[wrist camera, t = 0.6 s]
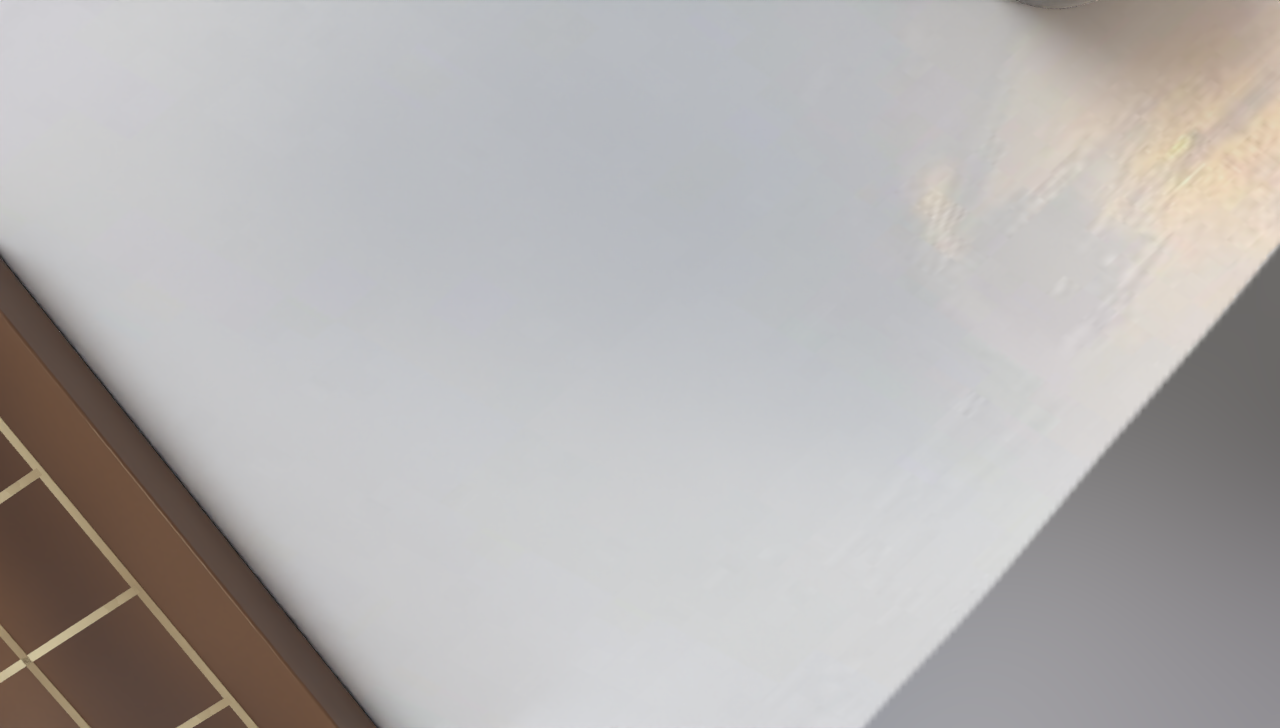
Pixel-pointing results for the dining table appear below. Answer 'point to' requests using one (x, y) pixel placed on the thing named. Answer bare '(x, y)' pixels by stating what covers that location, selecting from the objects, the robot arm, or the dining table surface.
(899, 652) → the dining table surface
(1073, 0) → the dark grey puck
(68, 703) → the board
